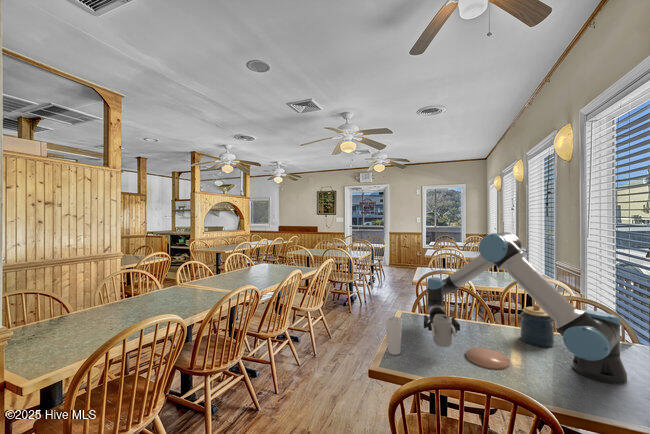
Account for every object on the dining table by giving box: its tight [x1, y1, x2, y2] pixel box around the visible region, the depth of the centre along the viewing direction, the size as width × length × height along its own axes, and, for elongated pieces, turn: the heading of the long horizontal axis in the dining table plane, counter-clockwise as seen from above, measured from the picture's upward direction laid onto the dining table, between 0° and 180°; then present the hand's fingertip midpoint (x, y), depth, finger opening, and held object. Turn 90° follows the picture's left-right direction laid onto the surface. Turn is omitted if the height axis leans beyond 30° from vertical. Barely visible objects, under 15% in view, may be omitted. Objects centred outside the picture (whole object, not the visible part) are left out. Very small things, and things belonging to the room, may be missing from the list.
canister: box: [519, 303, 555, 348], centre depth 138 cm, size 13×13×18 cm
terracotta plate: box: [465, 347, 511, 370], centre depth 122 cm, size 16×16×1 cm
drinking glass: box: [385, 315, 403, 356], centre depth 129 cm, size 7×7×15 cm
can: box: [432, 314, 453, 348], centre depth 125 cm, size 8×8×12 cm
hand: (443, 333), depth 120 cm, fingers closed on can, 7 cm apart
